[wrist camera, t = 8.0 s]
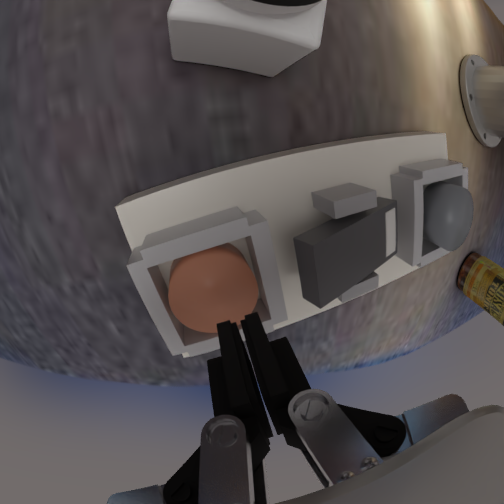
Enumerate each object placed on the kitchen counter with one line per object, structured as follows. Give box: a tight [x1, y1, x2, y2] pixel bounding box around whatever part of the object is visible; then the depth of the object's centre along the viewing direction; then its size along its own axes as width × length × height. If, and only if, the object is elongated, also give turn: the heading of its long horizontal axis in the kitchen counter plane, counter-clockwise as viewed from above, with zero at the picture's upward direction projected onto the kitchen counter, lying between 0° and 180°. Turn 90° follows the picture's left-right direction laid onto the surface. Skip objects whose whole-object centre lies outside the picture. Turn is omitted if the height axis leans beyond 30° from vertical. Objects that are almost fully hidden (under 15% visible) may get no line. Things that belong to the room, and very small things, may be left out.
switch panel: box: [115, 131, 468, 358], centre depth 18 cm, size 26×12×6 cm, turn 103°
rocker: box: [293, 197, 398, 309], centre depth 16 cm, size 8×4×2 cm, turn 103°
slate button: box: [423, 181, 474, 251], centre depth 17 cm, size 5×5×2 cm
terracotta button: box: [168, 243, 258, 333], centre depth 16 cm, size 5×5×2 cm
